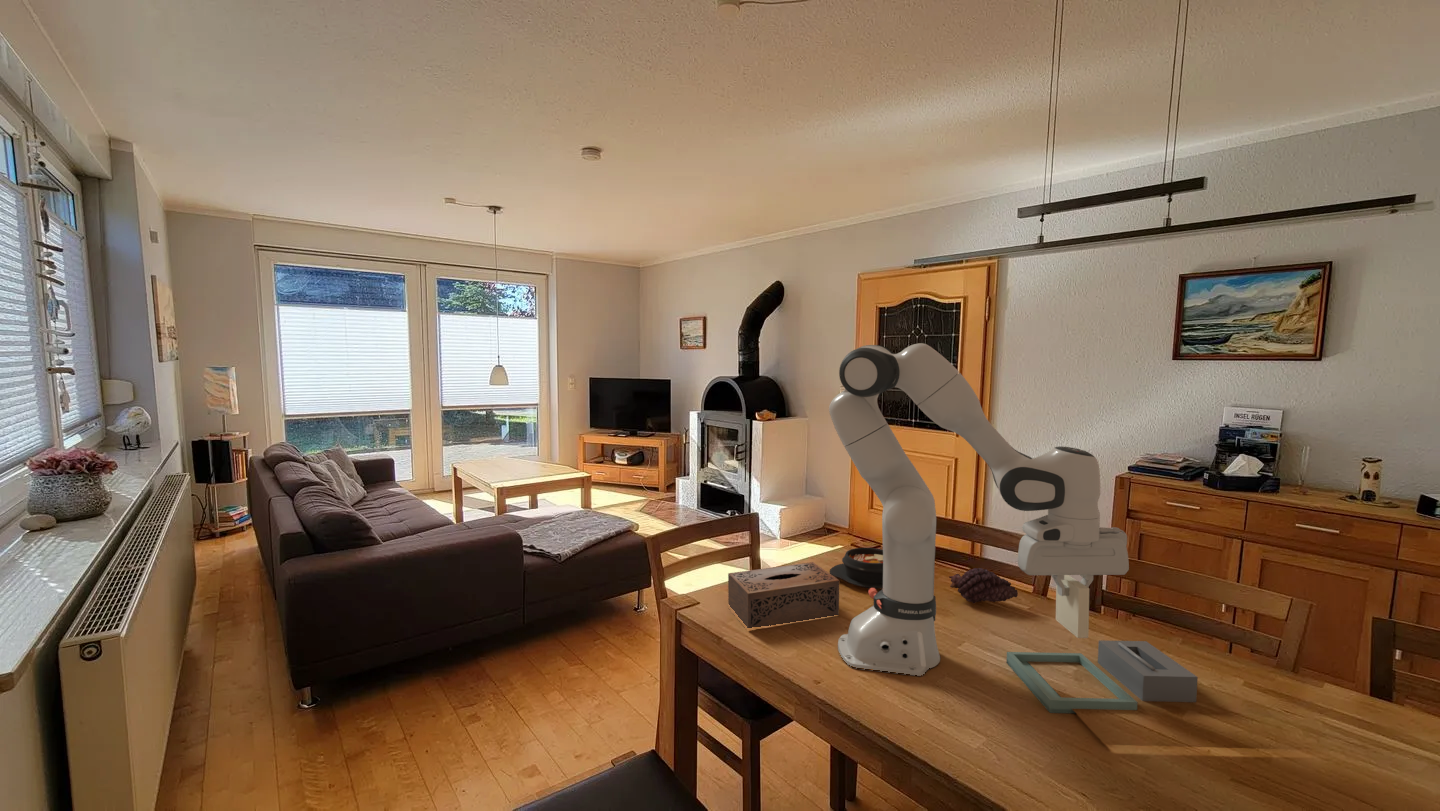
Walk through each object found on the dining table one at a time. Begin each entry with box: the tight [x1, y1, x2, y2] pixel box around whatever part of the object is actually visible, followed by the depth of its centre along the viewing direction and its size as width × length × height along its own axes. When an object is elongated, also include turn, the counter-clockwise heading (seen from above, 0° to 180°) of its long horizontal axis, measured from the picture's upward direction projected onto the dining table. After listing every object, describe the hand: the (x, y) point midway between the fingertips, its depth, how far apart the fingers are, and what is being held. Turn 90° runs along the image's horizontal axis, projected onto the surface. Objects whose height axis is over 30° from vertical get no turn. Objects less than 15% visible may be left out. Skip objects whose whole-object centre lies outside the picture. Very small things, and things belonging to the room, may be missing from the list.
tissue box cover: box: [727, 561, 840, 628], centre depth 151 cm, size 26×14×10 cm, turn 109°
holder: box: [1097, 640, 1199, 703], centre depth 116 cm, size 10×14×7 cm
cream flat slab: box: [1055, 575, 1090, 639], centre depth 114 cm, size 2×8×10 cm, turn 177°
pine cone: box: [948, 567, 1019, 604], centre depth 155 cm, size 18×10×10 cm, turn 56°
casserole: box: [828, 547, 883, 590], centre depth 172 cm, size 25×19×8 cm
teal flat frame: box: [1005, 651, 1138, 714], centre depth 116 cm, size 16×18×2 cm
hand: (1071, 594), depth 114 cm, fingers closed on cream flat slab, 2 cm apart
